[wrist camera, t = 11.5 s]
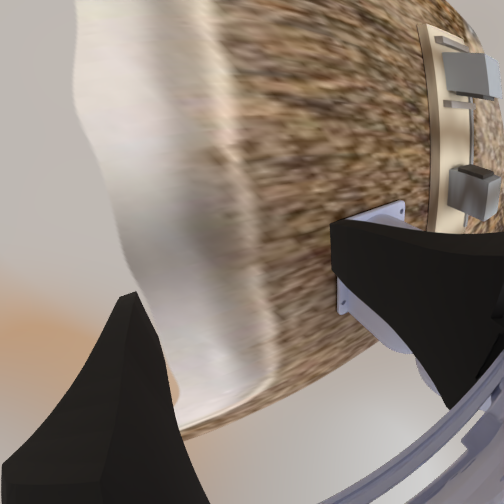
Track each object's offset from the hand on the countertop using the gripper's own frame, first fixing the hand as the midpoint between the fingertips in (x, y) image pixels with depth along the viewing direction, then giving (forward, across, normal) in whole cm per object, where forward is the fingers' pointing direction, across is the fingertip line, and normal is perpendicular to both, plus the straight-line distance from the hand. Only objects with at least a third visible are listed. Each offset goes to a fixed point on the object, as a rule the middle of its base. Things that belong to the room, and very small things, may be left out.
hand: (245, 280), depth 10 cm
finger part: (+8, -27, -8) cm, 29 cm away
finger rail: (+9, -27, -1) cm, 28 cm away
